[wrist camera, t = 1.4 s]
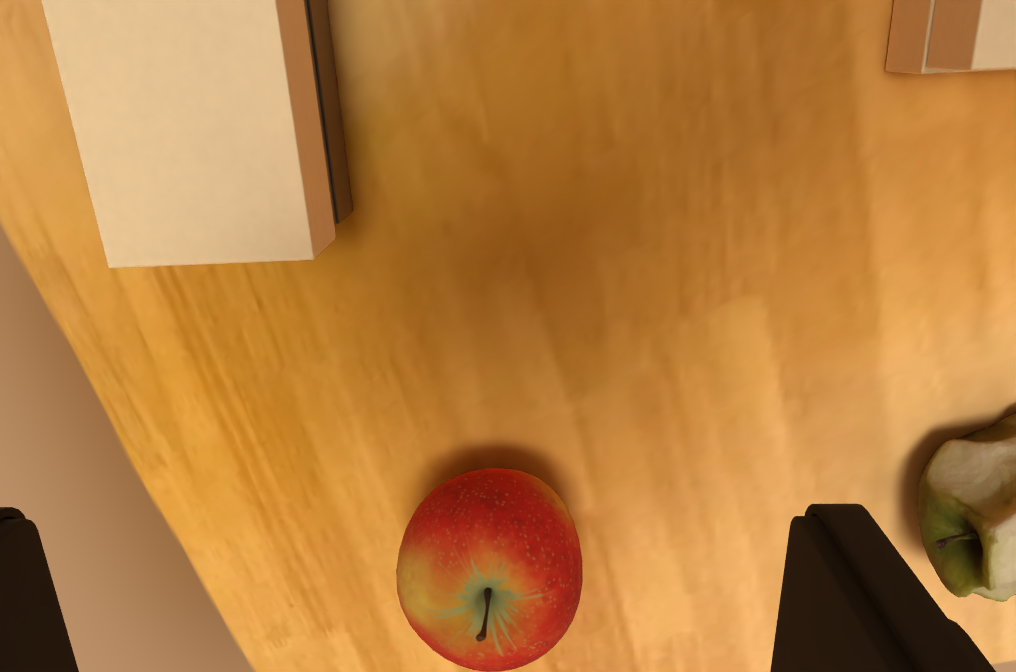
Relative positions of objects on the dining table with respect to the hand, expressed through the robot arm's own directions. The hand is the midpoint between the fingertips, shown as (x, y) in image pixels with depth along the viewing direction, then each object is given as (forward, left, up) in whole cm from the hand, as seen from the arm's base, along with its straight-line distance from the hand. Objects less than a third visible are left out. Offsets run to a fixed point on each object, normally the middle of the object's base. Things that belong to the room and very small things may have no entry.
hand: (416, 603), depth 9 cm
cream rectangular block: (-3, -11, -19) cm, 22 cm away
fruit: (+5, +26, -24) cm, 36 cm away
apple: (+14, +4, -24) cm, 29 cm away
